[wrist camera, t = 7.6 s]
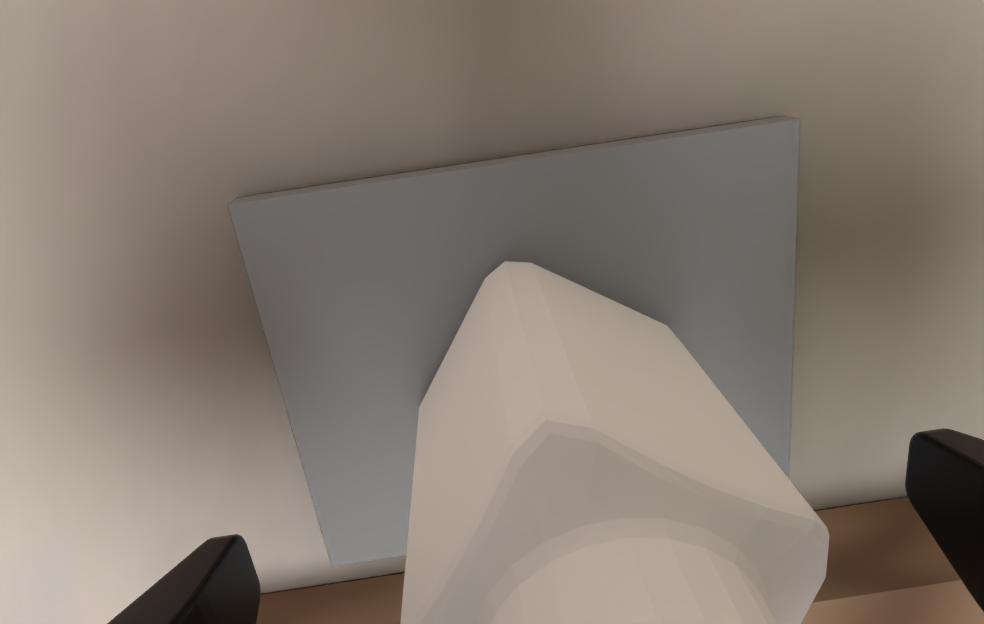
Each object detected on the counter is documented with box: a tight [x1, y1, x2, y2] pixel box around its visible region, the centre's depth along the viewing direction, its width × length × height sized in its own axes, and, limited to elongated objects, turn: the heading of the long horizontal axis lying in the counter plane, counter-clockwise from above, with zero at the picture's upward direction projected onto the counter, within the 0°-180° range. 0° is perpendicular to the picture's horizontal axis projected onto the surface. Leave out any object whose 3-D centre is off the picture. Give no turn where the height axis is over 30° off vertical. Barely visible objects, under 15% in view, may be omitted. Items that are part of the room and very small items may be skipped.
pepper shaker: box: [400, 261, 829, 624], centre depth 9 cm, size 4×4×10 cm
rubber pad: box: [228, 116, 800, 567], centre depth 13 cm, size 10×8×1 cm
